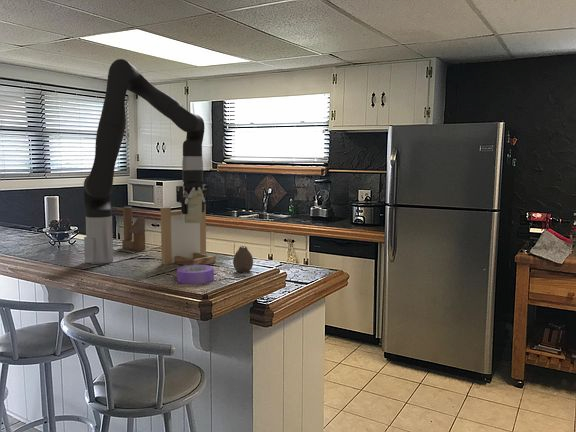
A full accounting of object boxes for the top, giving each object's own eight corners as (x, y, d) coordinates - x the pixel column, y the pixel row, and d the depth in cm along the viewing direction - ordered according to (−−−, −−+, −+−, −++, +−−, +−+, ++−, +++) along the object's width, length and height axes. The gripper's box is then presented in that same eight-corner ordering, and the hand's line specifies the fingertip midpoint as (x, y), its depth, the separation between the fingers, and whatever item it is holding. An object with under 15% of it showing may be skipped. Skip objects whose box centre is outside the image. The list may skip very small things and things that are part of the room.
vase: (243, 268, 177) (242, 244, 176) (257, 271, 173) (257, 246, 172) (228, 271, 172) (228, 246, 171) (243, 275, 167) (243, 249, 166)
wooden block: (139, 250, 209) (138, 208, 207) (122, 248, 215) (120, 207, 213) (145, 249, 212) (144, 207, 210) (128, 247, 218) (127, 206, 216)
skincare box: (185, 223, 182) (184, 190, 181) (184, 222, 186) (184, 189, 185) (202, 223, 184) (202, 190, 182) (201, 221, 188) (201, 189, 187)
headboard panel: (165, 264, 182) (164, 207, 180) (161, 263, 184) (160, 207, 181) (206, 256, 198) (206, 204, 195) (202, 256, 199) (201, 204, 197)
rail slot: (193, 267, 179) (193, 260, 178) (174, 262, 186) (174, 256, 185) (215, 262, 187) (215, 256, 187) (196, 258, 194) (196, 252, 193)
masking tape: (186, 286, 153) (186, 274, 152) (171, 278, 162) (171, 267, 161) (220, 281, 159) (220, 269, 159) (203, 274, 169) (203, 263, 168)
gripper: (200, 168, 191) (201, 211, 192) (170, 168, 179) (171, 214, 181) (214, 168, 186) (214, 212, 188) (184, 169, 175) (184, 215, 177)
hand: (193, 213), depth 185 cm, fingers closed on skincare box, 7 cm apart
